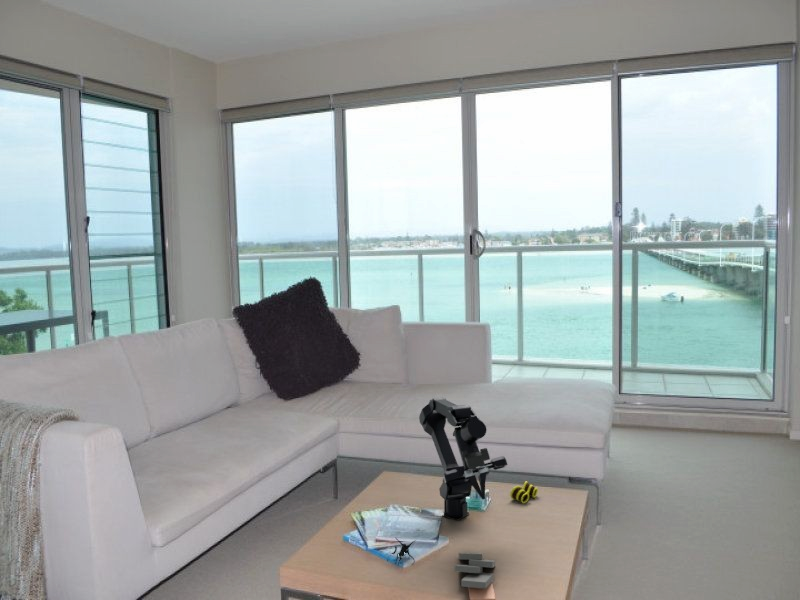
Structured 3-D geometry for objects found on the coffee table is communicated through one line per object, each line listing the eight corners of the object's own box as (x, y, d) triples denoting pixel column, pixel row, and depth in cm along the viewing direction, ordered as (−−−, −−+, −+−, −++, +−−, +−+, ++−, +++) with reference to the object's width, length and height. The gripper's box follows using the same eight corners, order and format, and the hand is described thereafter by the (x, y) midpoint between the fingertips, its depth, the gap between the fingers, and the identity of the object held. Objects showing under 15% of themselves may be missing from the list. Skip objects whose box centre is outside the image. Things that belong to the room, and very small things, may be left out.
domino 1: (458, 552, 179) (459, 553, 170) (481, 553, 178) (482, 553, 170) (459, 558, 178) (459, 559, 170) (481, 558, 178) (482, 559, 169)
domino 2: (472, 558, 175) (468, 559, 167) (495, 560, 174) (492, 561, 166) (472, 564, 175) (468, 565, 166) (495, 566, 173) (492, 567, 165)
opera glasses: (522, 507, 214) (524, 493, 213) (508, 500, 218) (511, 486, 217) (537, 498, 221) (540, 485, 220) (524, 491, 225) (527, 478, 224)
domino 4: (470, 571, 168) (461, 580, 159) (493, 573, 165) (485, 582, 157) (470, 577, 167) (461, 586, 159) (493, 579, 165) (485, 588, 157)
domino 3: (459, 564, 172) (454, 565, 164) (482, 565, 171) (478, 567, 163) (459, 569, 172) (454, 571, 164) (482, 571, 170) (478, 573, 162)
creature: (411, 572, 174) (420, 552, 181) (409, 555, 172) (418, 536, 179) (384, 568, 176) (394, 549, 183) (381, 551, 175) (392, 532, 182)
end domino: (467, 579, 165) (470, 598, 156) (491, 579, 165) (495, 598, 156) (467, 584, 165) (470, 604, 156) (491, 584, 165) (495, 604, 156)
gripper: (438, 450, 187) (454, 505, 181) (501, 433, 189) (518, 487, 183) (437, 456, 197) (452, 508, 192) (496, 440, 199) (513, 491, 193)
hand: (483, 499), depth 190 cm, fingers closed
